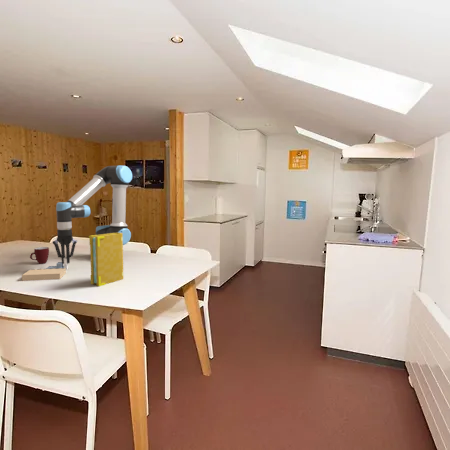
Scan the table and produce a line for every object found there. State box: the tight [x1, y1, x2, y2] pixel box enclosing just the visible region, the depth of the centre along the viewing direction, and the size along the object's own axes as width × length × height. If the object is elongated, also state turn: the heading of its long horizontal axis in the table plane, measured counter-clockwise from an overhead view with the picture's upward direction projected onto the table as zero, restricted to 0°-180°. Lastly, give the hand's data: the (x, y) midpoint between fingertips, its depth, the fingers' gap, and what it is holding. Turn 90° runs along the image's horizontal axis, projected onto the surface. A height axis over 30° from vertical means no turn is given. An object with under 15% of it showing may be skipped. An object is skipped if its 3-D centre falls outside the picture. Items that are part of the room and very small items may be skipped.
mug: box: [29, 246, 50, 265], centre depth 198 cm, size 10×8×10 cm
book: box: [88, 233, 124, 287], centre depth 161 cm, size 17×7×25 cm, turn 148°
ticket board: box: [21, 268, 67, 282], centre depth 168 cm, size 18×12×3 cm, turn 104°
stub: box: [45, 261, 64, 269], centre depth 177 cm, size 8×5×5 cm
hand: (66, 268), depth 179 cm, fingers closed
